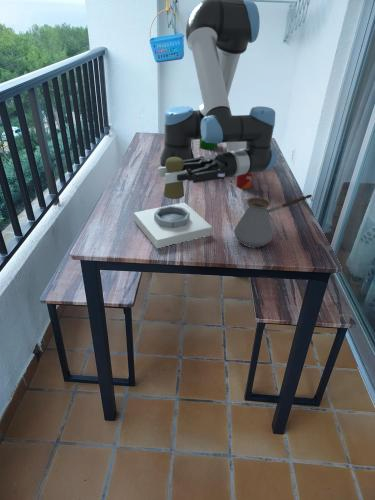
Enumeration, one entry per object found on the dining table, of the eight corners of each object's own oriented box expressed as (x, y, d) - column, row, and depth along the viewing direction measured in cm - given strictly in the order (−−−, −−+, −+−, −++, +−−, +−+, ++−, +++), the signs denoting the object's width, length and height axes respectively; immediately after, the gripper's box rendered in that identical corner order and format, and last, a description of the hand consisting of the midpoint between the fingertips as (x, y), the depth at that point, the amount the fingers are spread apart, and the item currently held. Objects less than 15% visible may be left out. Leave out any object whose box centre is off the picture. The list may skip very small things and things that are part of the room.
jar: (247, 166, 159) (251, 132, 151) (224, 164, 161) (227, 130, 152) (247, 158, 168) (252, 126, 160) (225, 156, 169) (228, 124, 161)
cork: (188, 193, 107) (189, 157, 101) (177, 200, 103) (178, 163, 96) (170, 188, 109) (171, 153, 103) (159, 195, 105) (159, 159, 99)
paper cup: (252, 191, 138) (257, 155, 130) (232, 188, 139) (236, 153, 131) (253, 183, 144) (258, 148, 136) (234, 181, 145) (238, 146, 138)
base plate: (134, 220, 115) (133, 206, 112) (184, 210, 122) (184, 196, 120) (157, 249, 102) (156, 234, 99) (211, 235, 109) (212, 221, 107)
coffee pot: (237, 252, 102) (244, 204, 94) (229, 231, 112) (235, 186, 103) (309, 250, 104) (322, 203, 96) (295, 230, 114) (306, 186, 106)
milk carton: (197, 148, 178) (199, 105, 167) (203, 143, 185) (206, 102, 174) (214, 151, 176) (217, 108, 165) (219, 145, 183) (223, 104, 172)
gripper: (246, 185, 106) (175, 200, 97) (215, 166, 119) (150, 177, 109) (249, 161, 102) (175, 173, 92) (217, 143, 114) (149, 153, 105)
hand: (162, 175), depth 101 cm, fingers closed on cork, 4 cm apart
